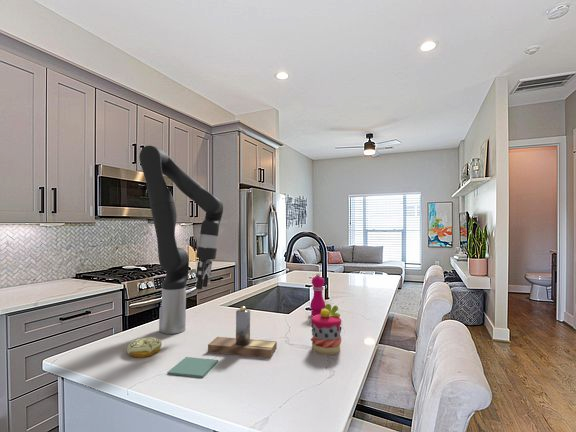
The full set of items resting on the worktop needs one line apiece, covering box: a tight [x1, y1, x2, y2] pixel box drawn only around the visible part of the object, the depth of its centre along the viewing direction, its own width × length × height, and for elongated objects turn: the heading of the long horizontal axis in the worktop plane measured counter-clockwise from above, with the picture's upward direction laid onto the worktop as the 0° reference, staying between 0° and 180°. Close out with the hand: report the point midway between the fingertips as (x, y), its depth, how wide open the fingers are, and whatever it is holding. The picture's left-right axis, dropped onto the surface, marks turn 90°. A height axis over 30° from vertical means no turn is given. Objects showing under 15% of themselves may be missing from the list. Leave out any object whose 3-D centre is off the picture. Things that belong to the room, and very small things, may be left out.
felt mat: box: [167, 356, 219, 379], centre depth 99 cm, size 11×11×1 cm
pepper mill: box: [309, 272, 326, 317], centre depth 158 cm, size 7×7×20 cm
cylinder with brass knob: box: [235, 305, 251, 346], centre depth 113 cm, size 5×5×13 cm
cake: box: [310, 303, 342, 356], centre depth 115 cm, size 10×10×15 cm
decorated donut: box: [126, 336, 162, 359], centre depth 111 cm, size 10×11×4 cm
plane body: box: [207, 336, 278, 359], centre depth 113 cm, size 22×8×3 cm, turn 79°
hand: (201, 287), depth 129 cm, fingers open, 8 cm apart
